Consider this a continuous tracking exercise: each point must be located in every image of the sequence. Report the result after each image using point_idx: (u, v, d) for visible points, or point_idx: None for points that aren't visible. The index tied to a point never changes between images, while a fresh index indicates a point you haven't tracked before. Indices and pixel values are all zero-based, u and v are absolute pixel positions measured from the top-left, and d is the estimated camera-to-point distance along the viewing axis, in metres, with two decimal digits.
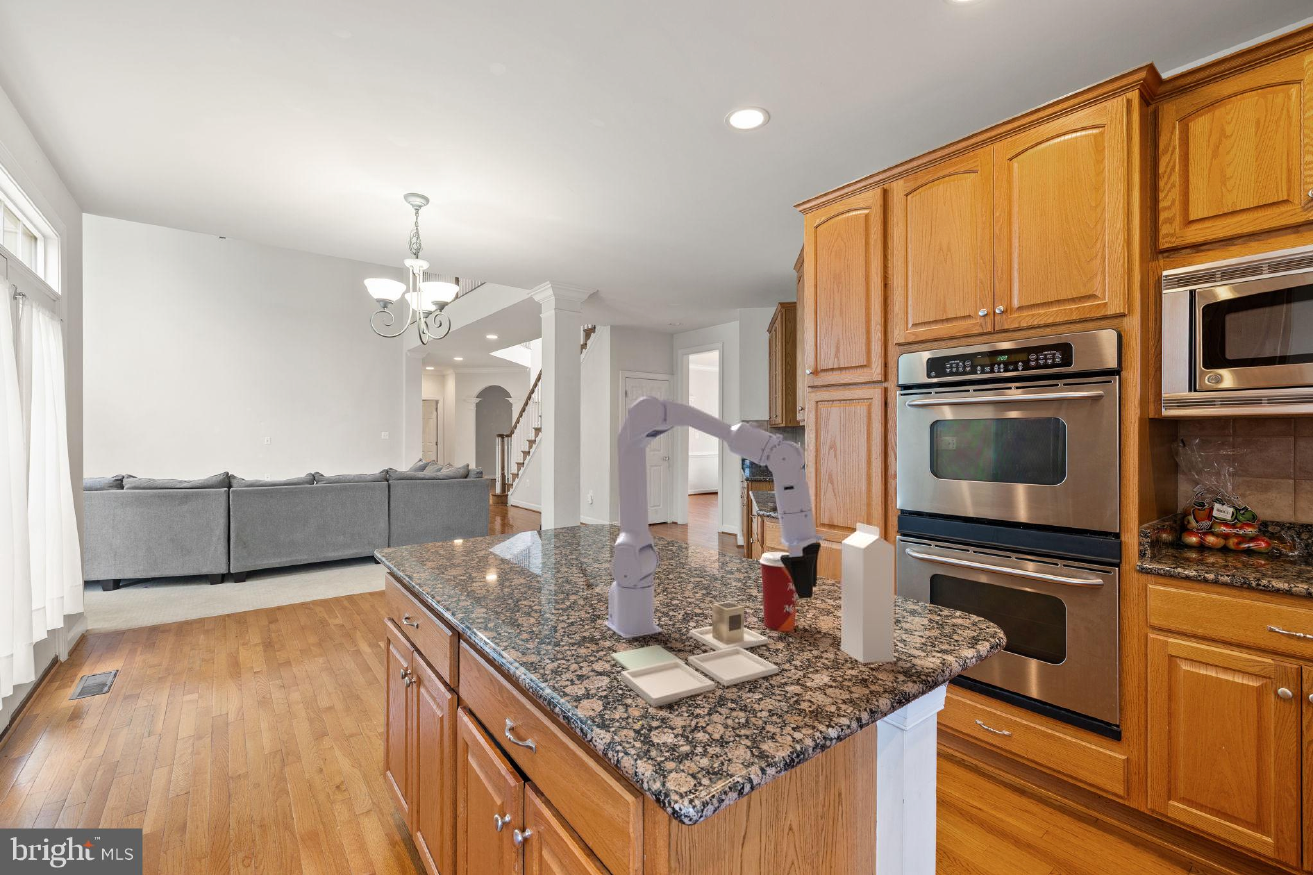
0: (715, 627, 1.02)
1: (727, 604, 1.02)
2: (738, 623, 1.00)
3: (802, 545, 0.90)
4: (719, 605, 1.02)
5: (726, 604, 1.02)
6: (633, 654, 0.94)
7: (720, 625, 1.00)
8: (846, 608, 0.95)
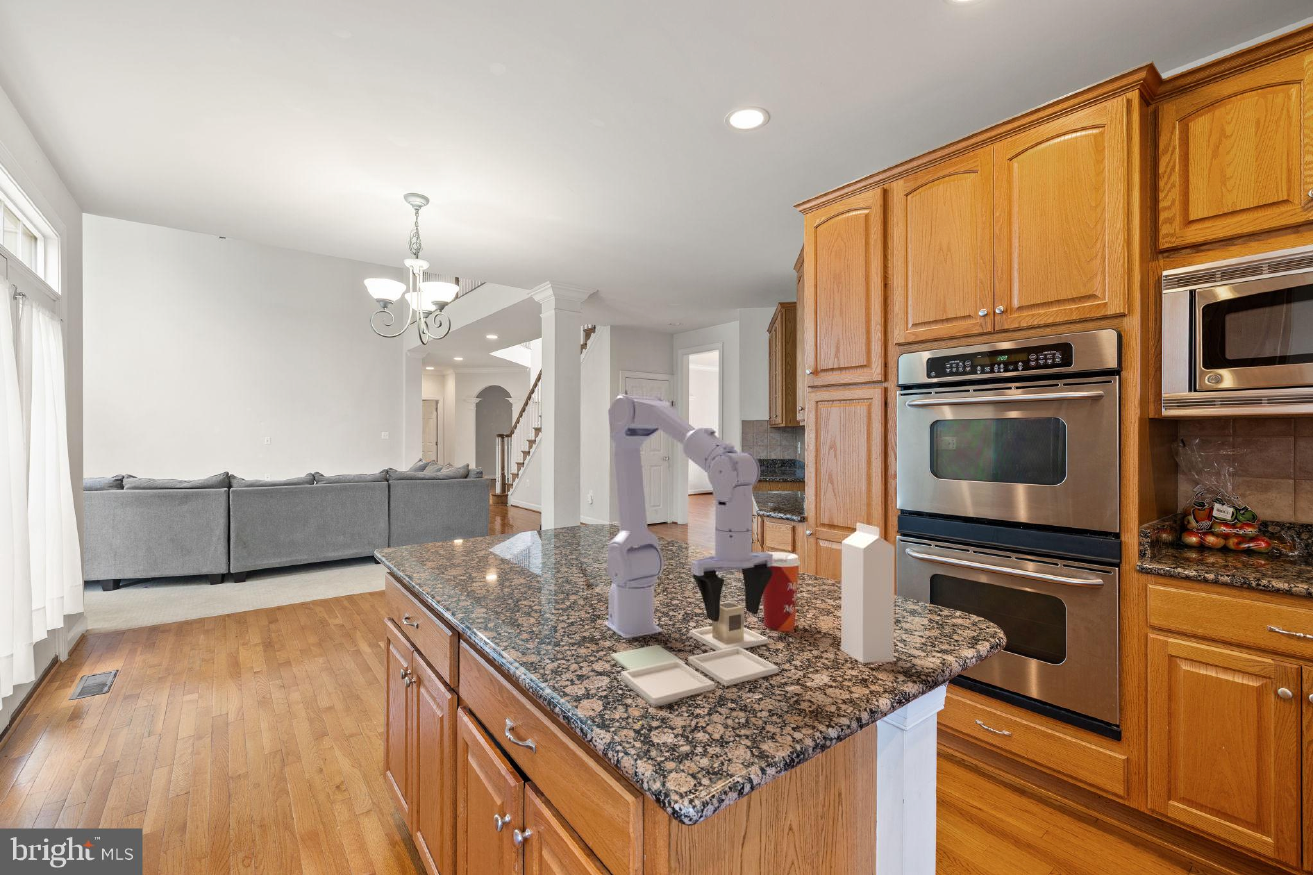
0: (715, 627, 1.02)
1: (727, 604, 1.02)
2: (738, 623, 1.00)
3: (706, 565, 0.85)
4: None
5: (726, 604, 1.02)
6: (633, 654, 0.94)
7: (720, 625, 1.00)
8: (846, 608, 0.95)
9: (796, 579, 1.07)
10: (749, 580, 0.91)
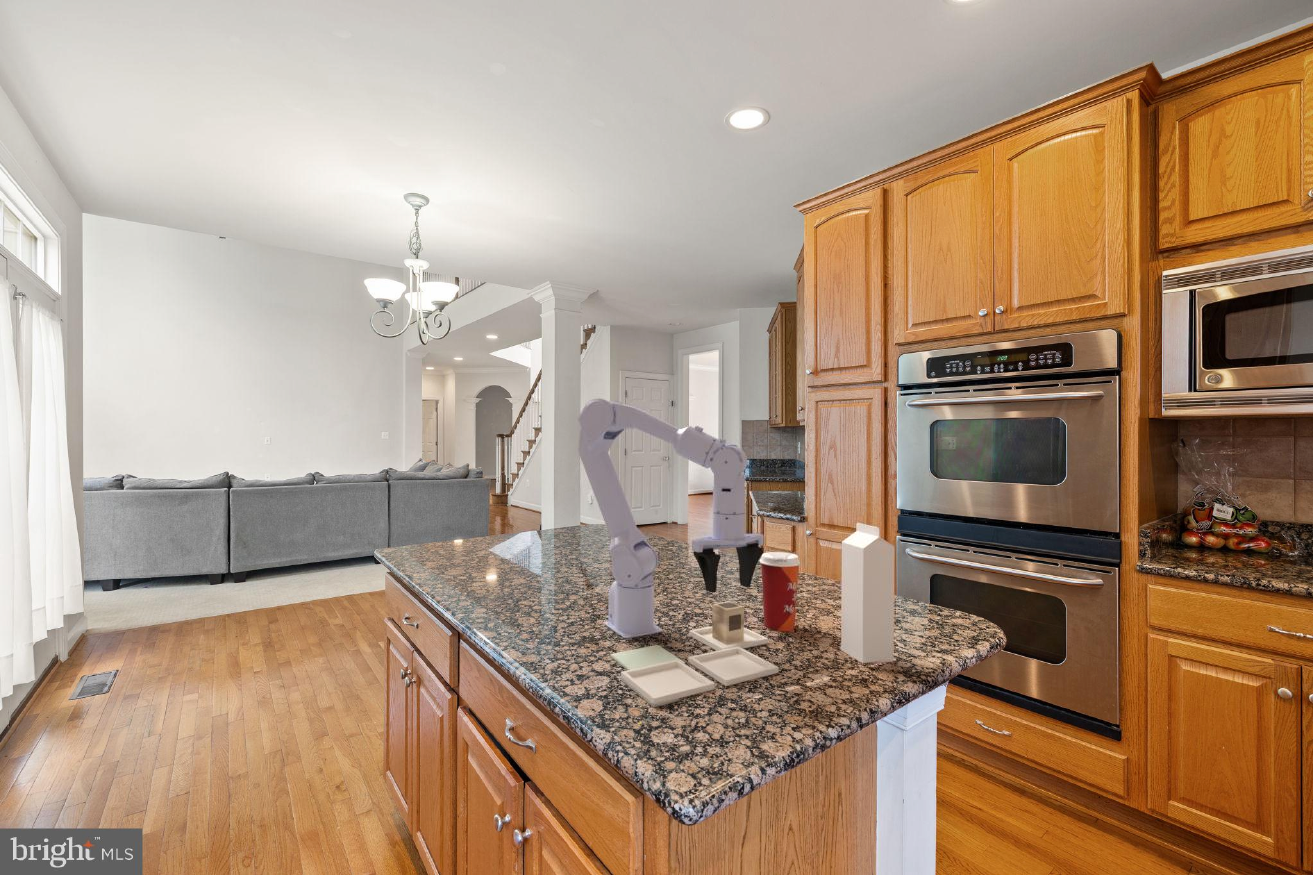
0: (715, 627, 1.02)
1: (727, 604, 1.02)
2: (738, 623, 1.00)
3: (704, 543, 0.98)
4: (719, 605, 1.02)
5: (726, 604, 1.02)
6: (633, 654, 0.94)
7: (720, 625, 1.00)
8: (846, 608, 0.95)
9: (796, 579, 1.07)
10: (743, 557, 1.04)
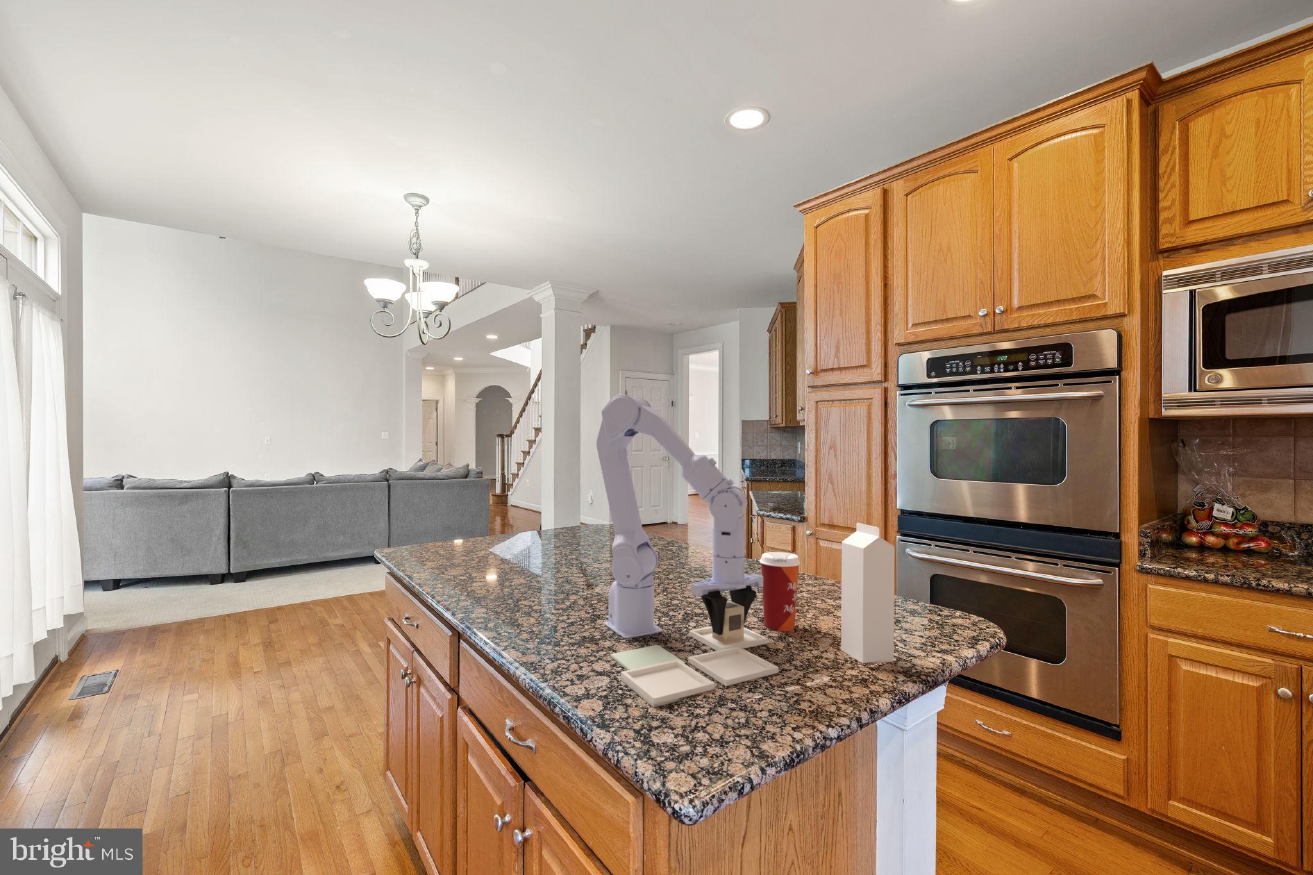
0: None
1: (727, 604, 1.02)
2: (738, 623, 1.00)
3: (704, 587, 0.98)
4: None
5: (726, 604, 1.02)
6: (633, 654, 0.94)
7: None
8: (846, 608, 0.95)
9: (796, 579, 1.07)
10: (736, 600, 1.03)
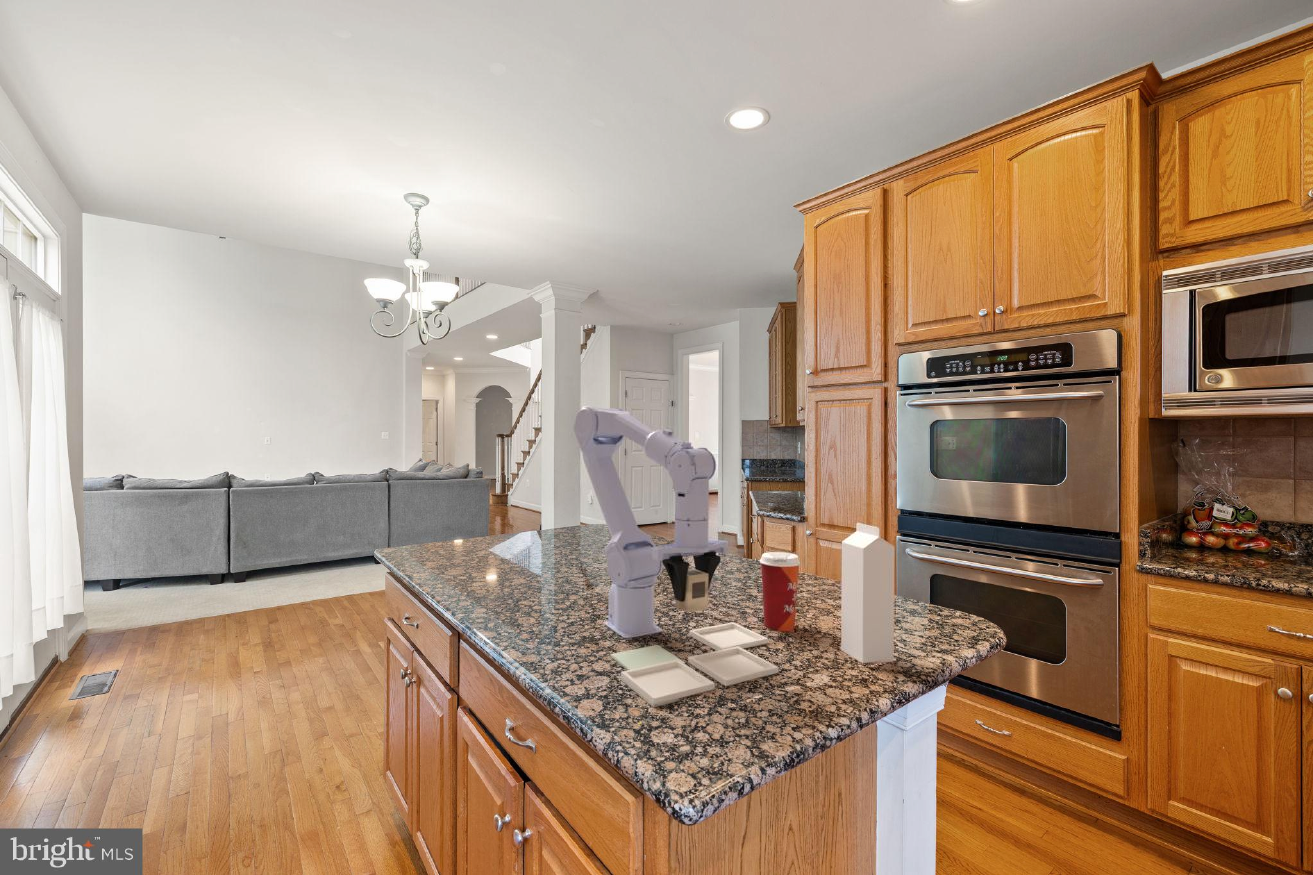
0: None
1: (691, 571, 0.97)
2: (702, 591, 0.96)
3: (665, 551, 0.93)
4: None
5: (690, 571, 0.97)
6: (633, 654, 0.94)
7: None
8: (846, 608, 0.95)
9: (796, 579, 1.07)
10: (699, 566, 0.99)
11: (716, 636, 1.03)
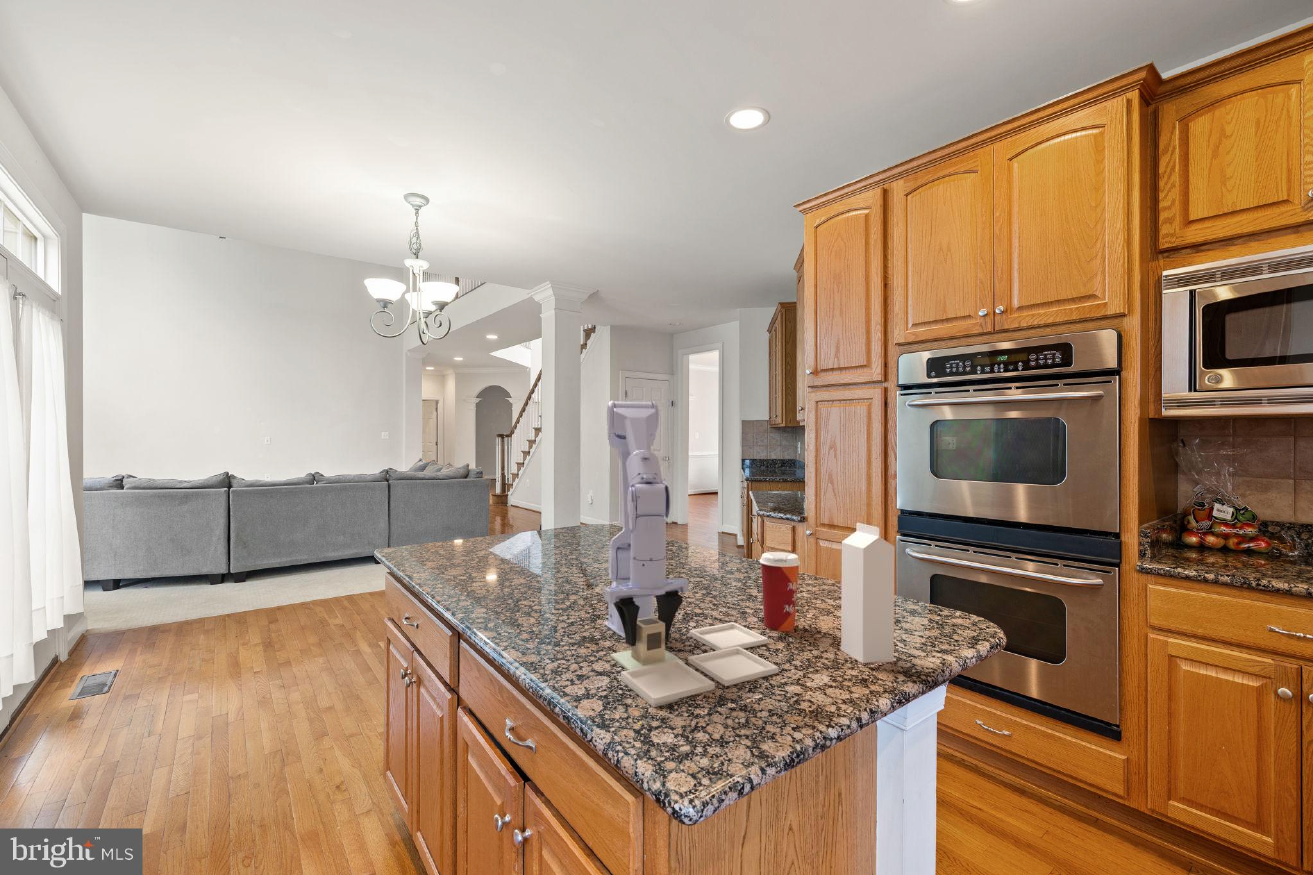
0: None
1: (647, 620, 0.92)
2: (658, 642, 0.91)
3: (617, 593, 0.88)
4: (638, 621, 0.92)
5: (646, 620, 0.92)
6: None
7: (638, 644, 0.91)
8: (846, 608, 0.95)
9: (796, 579, 1.07)
10: (661, 606, 0.94)
11: (716, 636, 1.03)
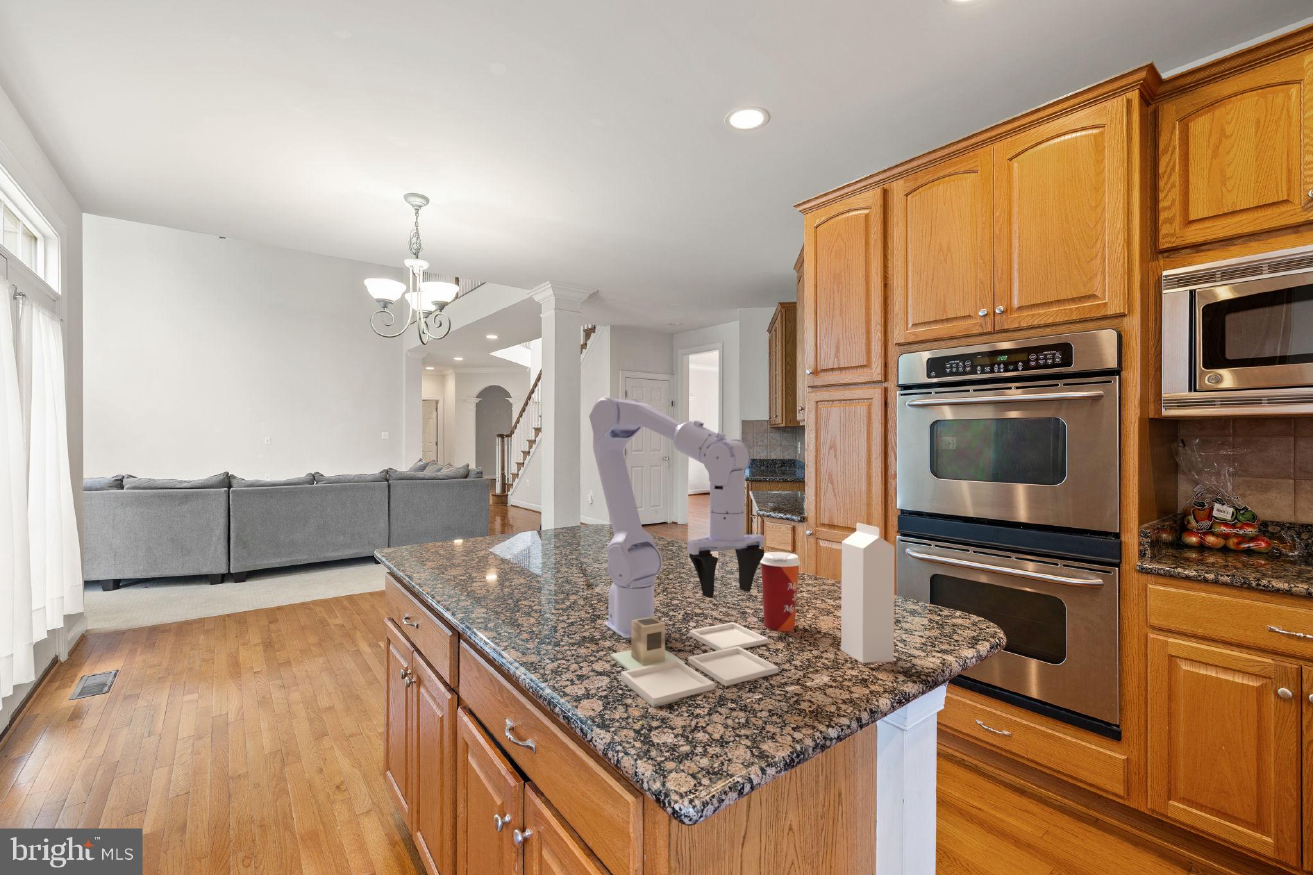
0: (633, 645, 0.92)
1: (647, 620, 0.92)
2: (658, 642, 0.91)
3: (701, 545, 0.91)
4: (638, 621, 0.92)
5: (646, 620, 0.92)
6: None
7: (638, 644, 0.91)
8: (846, 608, 0.95)
9: (796, 579, 1.07)
10: (742, 560, 0.97)
11: (716, 636, 1.03)
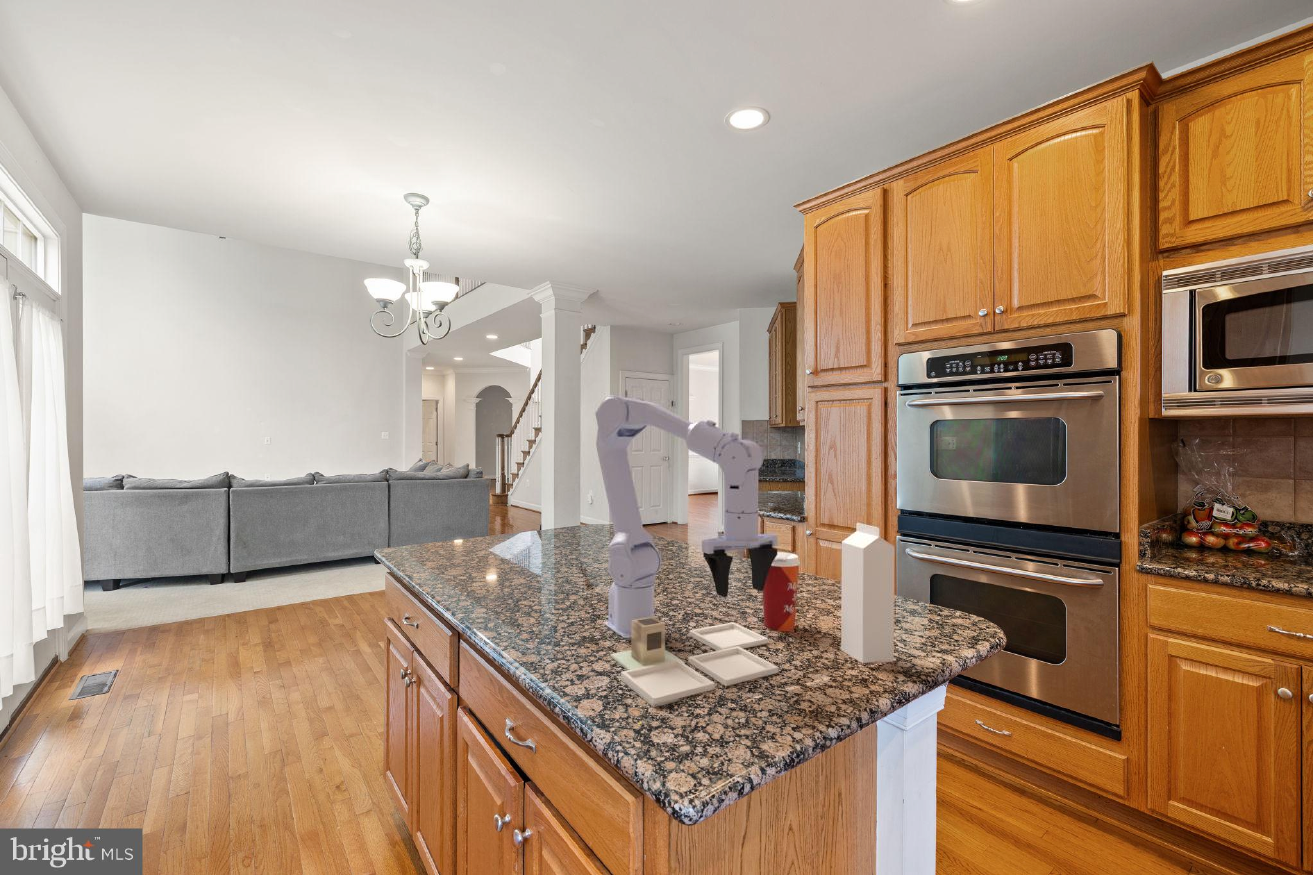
0: (633, 645, 0.92)
1: (647, 620, 0.92)
2: (658, 642, 0.91)
3: (715, 544, 0.92)
4: (638, 621, 0.92)
5: (646, 620, 0.92)
6: None
7: (638, 644, 0.91)
8: (846, 608, 0.95)
9: (796, 579, 1.07)
10: (755, 559, 0.98)
11: (716, 636, 1.03)
